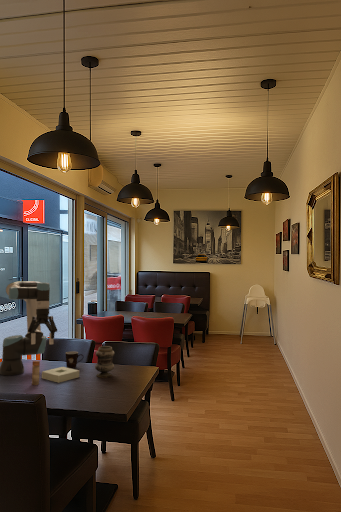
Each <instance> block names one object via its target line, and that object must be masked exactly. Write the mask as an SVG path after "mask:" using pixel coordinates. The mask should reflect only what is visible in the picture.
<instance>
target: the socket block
mask: <svg viewBox="0 0 341 512" xmlns="http://www.w3.org/2000/svg"><path fill="white" fill-rule="evenodd" d="M79 377H80V369H79V370H78V369H75V368H67V366H60V367H55V368H52V369H51V368H50V369H47V370H43V371H41V379H43V380H47V381H51V382H54V383H58V384H59V383H62V382H66V381H70V380H74V379H76V378H79Z"/></svg>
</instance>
